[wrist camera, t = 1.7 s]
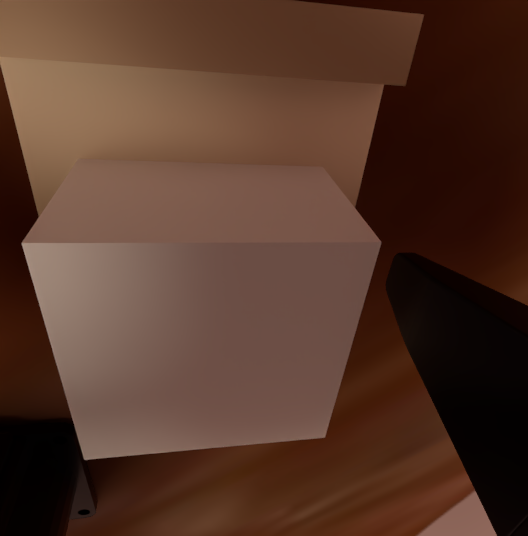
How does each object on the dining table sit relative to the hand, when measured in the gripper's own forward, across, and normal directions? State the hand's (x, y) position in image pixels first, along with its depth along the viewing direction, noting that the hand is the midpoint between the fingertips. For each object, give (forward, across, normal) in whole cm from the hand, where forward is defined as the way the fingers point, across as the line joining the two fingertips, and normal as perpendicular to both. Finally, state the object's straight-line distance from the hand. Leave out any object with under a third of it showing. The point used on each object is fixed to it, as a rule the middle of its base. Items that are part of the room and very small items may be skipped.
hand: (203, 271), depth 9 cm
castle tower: (+3, 0, 0) cm, 3 cm away
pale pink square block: (0, 0, 0) cm, 0 cm away
